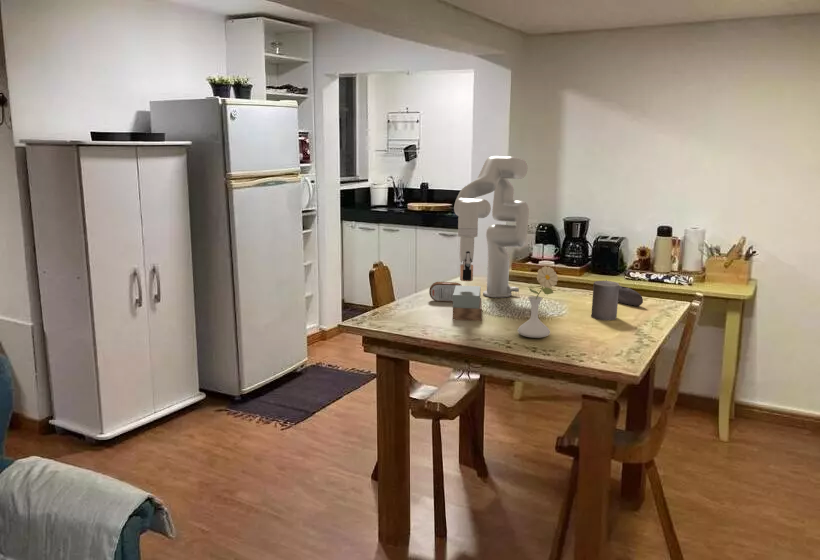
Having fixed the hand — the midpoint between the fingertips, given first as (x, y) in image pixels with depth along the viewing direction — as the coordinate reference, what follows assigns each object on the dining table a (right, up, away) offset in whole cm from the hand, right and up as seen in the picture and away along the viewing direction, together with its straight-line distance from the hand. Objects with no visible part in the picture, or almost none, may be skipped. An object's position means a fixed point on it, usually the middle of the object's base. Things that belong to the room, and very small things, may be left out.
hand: (466, 278), depth 261 cm
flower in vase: (+22, -21, -27) cm, 41 cm away
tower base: (+1, -15, +3) cm, 15 cm away
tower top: (0, -10, +2) cm, 10 cm away
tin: (-6, -10, +24) cm, 27 cm away
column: (0, -1, 0) cm, 1 cm away
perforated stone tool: (+70, -11, +22) cm, 75 cm away
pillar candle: (+54, -16, 0) cm, 56 cm away
